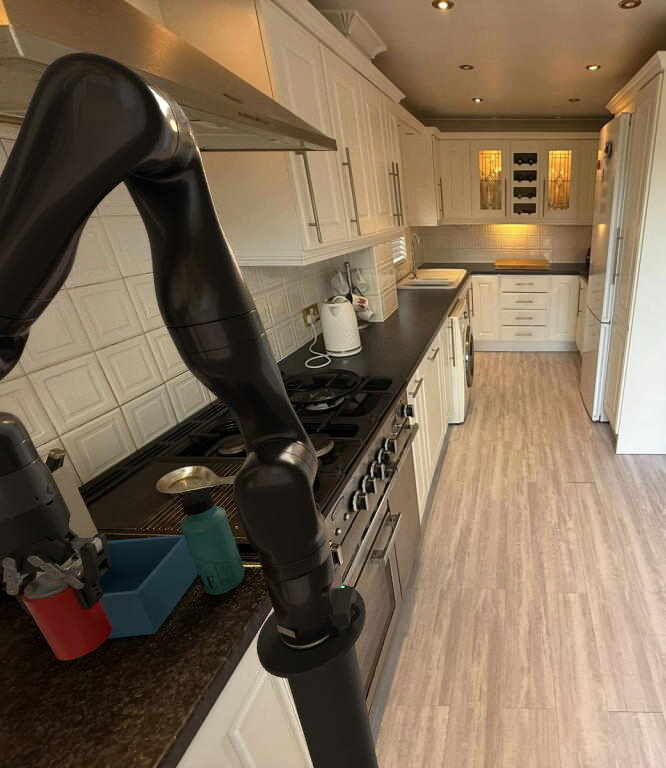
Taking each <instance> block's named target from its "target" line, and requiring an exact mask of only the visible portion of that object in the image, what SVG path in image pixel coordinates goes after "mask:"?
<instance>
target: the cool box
mask: <svg viewBox="0 0 666 768" xmlns="http://www.w3.org/2000/svg"><path fill="white" fill-rule="evenodd" d="M107 544H108V549H109V554H110V559H111V564H112V568H111V569H110V570H109V571H107V572H106V573H105V574H104V575H103V576H102V577H101V578H100V580H99V583H100V585H101V587H102V590H103V592H104V594H103V596H102V597H101V599H100V601H101V603H102V605H103V607H104V609H105V611H106V613H107V615H108V617H109V619H110V621H111V623H112V626H113V629H112V632H111V634H110V636H109V637H108V638H107V639H106V640H110V639H118V638H119V639H120V638H128V637H137V636H147V635H155V634H157V633H158V631H159V629H160V628H161V627H162V625H163V624H164V623H165V621H166V620H167V618H168V617H169V616H170V614H171V613H172V611H173V610H174V609H175V607H176V606H177V604H178V603H179V602H180V600H181V599H182V598H183V596H184V595H185V593H186V592H187V590H189V588H190V587H191V585H192V584H193V583H194V581H195V579H196V578H198V576H199V574H198V572H197V569H196V566H195V564H194V561H193V558H192V556H191V553H189V552H190V550H189V548H188V544H187V542H186V539H185V536H184V534H176V535H165V536H164V535H163V536H151V537H139V538H128V539H116V540H107ZM187 548H188V549H187ZM188 550H189V551H188ZM196 572H197V573H196Z"/></svg>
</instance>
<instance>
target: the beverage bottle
mask: <svg viewBox="0 0 666 768" xmlns="http://www.w3.org/2000/svg"><path fill="white" fill-rule="evenodd" d="M181 506H182V511H183V514H184V515H185V518H183V520H182V521H181V524H180V530H181V532H182V535H184V536H185V539H186V542H187V544H188V548H189V550H190V552H189V553H191V556H192V558H193V561H194V564H195V566H196V569H197V572H198V576H197V578H198V580H199V583H200V585H201V587H202V590H203V591H204V592H206V593H207V594H208V595H213V596H215V595H216V596H217V595H221V594H222V595H223V594H225V593H228V592H229V591H232V590H233V589H235V588H236V587H237V586H239V585H240V583H241V582H242V581H243V580H244V578H245V574H246V570H245V565H244V562H243V559H242V556H241V553H240V552H241V551H240V549H239V547H238V545H237V542H236V539H235V537H234V535H233V532H232V529H231V525H230V522H229V519H228V515H227V510H226V509H225V508H223V507H221V506H217V505H215V500H214V498H213V496H212V493H211V492H210V491H207V490H200V491H195V492H192V493H190V494H188V495H187V496H185V497H184V498H183V499H182V500H181ZM188 548H187V549H188ZM189 550H188V551H189ZM197 572H196V573H197Z"/></svg>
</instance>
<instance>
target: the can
mask: <svg viewBox="0 0 666 768" xmlns="http://www.w3.org/2000/svg"><path fill="white" fill-rule="evenodd" d="M65 567H66V566H62V568H63V569H64V568H65ZM74 572H75V573H76V574H77V575H78V576H79V577H80V576H81V575H82V574H83V572H82V571H81V570H79V569H78V568H77V569H75V571H74ZM73 589H74V588H73V587H72V586H71V585H70V584H68V583H67V582H66V581H65V580H63V579H61V580H56V579H54V578H53V577H52V576H50V575H49V574H48V573H47V572H46V573H44V574H42V575H41V576H39V577H37V578H36V579H34V580H33V581H32V582H31V583H29V584H28V585H27V587H26V588H25V590H24V594H23V597H22V598H23V601H24V603H25V604H26V606H27V608H28V609H29V611H30V613H31V614H30V615H31V616H32V618H33V620H34V621H35V623H36V625H37V626H38V628H39V630H40V632H41V633H42V635H43V637H44V638H45V640H46V642H47V644H48V646H49V647H50V649H51V651H52V652H53V654H54V656H55V657H56V659H57V660H60V661H71V660H75V659H79V658H81V657H83V656H86V655H88V654H90V653H92V651H94V650H96V649H97V648H98V647H100V646H101V645H103V644H104V643H105V642H106V641H107V640H108V639H107V638H108V637H109V636H110V634H111V632H112V629H113V626H112V623H111V621H110V619H109V617H108V615H107V613H106V611H105V609H104V607H103V605H102V603H101V601H100V600H99V601H98V602H97V603H96V604H95V605H94V607H93V608H91V609H83V608H82V606H81V604H80V603H79V601H78V599H77V597H76V595H75V593H74V591H73Z"/></svg>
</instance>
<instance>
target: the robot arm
mask: <svg viewBox="0 0 666 768" xmlns="http://www.w3.org/2000/svg"><path fill="white" fill-rule="evenodd" d="M197 139H198V138H197V136H196V134H195V130H194V127H193V126H192V123H191V121H190V119H189V118H188V116H187V114H186V113H185V111H184V109H183V108H182V107H181V106H180V104H179V103H177V101H176V100H175V99H174V98H173V97H172V96H171V95H170V94H169V93H167V92H166V91H165V90H163V89H162V88H161V87H159V86H158V85H156V84H155V83H153V82H152V81H150V80H149V79H147V78H146V77H145V76H143V75H142V74H139V73H138V72H136V71H135V70H133V69H132V68H130V67H128V66H127V65H125V64H123V63H121V62H119V61H117V60H116V59H112V58H110V57H108V56H104V55H101V54H99V53H91V52H84V51H83V52H70V53H68V54H65V55H62V56H59V57H58V58H56V59H54V61H53V62H51V63H50V64H49V65H48V66H47V67H46V69H45V70H44V71H43V73H42V75H41V76H40V78H39V80H38V82H37V85H36V87H35V89H34V91H33V94H32V96H31V99H30V101H29V104H28V107H27V109H26V112H25V115H24V118H23V120H22V123H21V126H20V128H19V132H18V133H17V137H16V139H15V141H14V144H13V146H12V149H11V151H10V152H9V155H8V157H7V160H6V163H5V165H4V167H3V169H2V171H1V174H0V382H1V381H3V380H4V379H5V378H6V377H7V376H9V374H10V373H11V372H12V371H13V370H14V368H15V367H16V366H17V365H18V363H19V362H20V360H21V358H22V356H23V354H24V351H25V349H26V346H27V343H28V341H29V337H30V334H31V330H32V326H33V325H34V324H35V323H36V322H37V321H38V320H39V318H41V316H42V315H43V313H45V311H46V310H47V309H48V307H49V306H50V304H51V303H52V302H53V301H54V299H55V298H56V297H57V295H58V294H59V292H60V291H61V290H62V288H63V287H64V286H65V284H66V282H67V280H68V278H69V277H70V275H71V273H72V271H73V269H74V265H75V262H76V259H77V255H78V251H79V246H80V242H81V240H82V236H83V234H84V230H85V227H86V225H87V224H88V222H89V220H90V218H91V217H92V215H93V213H94V212H95V211H96V209H97V208H98V206H99V205H100V203H102V201H103V200H104V199H105V198H106V197H107V196H108V195H109V194H110V193H111V192H112V191H114V190H115V189H116V188H117V187H119V186H120V184H122V183H123V184H124V187H125V188H126V190H127V191H128V194H129V196H130V198H131V200H132V202H133V204H134V206H135V208H136V209H137V212H138V213H139V216H140V218H141V220H142V223H143V225H144V229H145V232H146V234H147V238H148V242H149V248H150V256H151V268H152V277H153V278H152V279H153V287H154V295H155V299H156V304H157V308H158V311H159V314H160V317H161V320H162V321H163V324H164V326H165V328H166V330H167V332H168V335H169V336H170V338H171V341H172V343H173V344H174V347H175V349H176V352H177V353H178V355H179V358H180V359H181V360H182V362H183V364H184V365H185V367H186V368H187V369H188V371H189V372H190V373H191V375H193V377H195V379H196V380H197V381H199V383H200V384H201V385H202V386H204V387H205V388H206V389H207V390H208V391H209V392H210V393H212V394H213V395H214V397H216V398H217V399H218V400H219V401H220V402H221V403H222V404H223V405H224V406H225V408H227V409H228V411H229V412H230V415H232V417H233V419H234V422H235V423H236V427H237V429H238V431H239V433H240V435H241V439H242V442H243V445H244V448H245V452H246V457H245V459H244V461H243V463H242V465H241V466H240V468H239V470H238V472H237V473H236V475H235V477H234V479H233V482H232V499H233V503H234V507H235V510H236V513H237V516H238V518H239V522H240V525H241V527H242V530H243V532H244V535H245V538H246V540H247V542H248V544H249V545H250V546H251V547H252V549H253V550H255V551H256V553H257V556H258V560H259V563H260V564H259V565H260V567H261V570H262V574H263V578H264V581H265V585H266V589H267V592H268V596H269V599H270V602H271V606H272V609H273V611H274V613H275V616H276V620H277V623H278V625H277V627H278V631H279V632H280V636H281V640H282V642H283V644H284V645H285V646H286V647H287V648H288V649H290V650H294V651H306V650H310V649H314V648H316V647H318V646H320V645H322V644H324V643H325V642H327V641H328V640H329V639H332V638H337V637H338V635H339V632H340V628H341V626H343V625H349V624H352V623H353V622H354V621H355V620H356V619H357V618H358V617H359V616H360V613H361V610H360V608H359V606H357V605H356V604H355V601H356V592H355V590H356V587H355V586H353V585H352V586H350V587H344V586H343V584H344V583H343V579H342V578H343V577H342V574H341V569H340V568H341V567H340V565H339V563H338V562H334V560H333V559H334V558H333V554H332V548H331V544H330V539H329V535H328V528H327V523H326V519H325V517H324V515H323V514H322V512H320V511H318V509H317V506H316V501H315V496H314V490H313V489H314V488H313V486H314V483H315V479H316V476H317V471H318V467H319V465H318V464H319V463H318V455H317V452H316V449H315V447H314V444H313V442H312V441H311V439H310V437H309V435H308V433H307V432H306V430H305V428H304V426H303V424H302V422H301V421H300V419H299V417H298V415H297V413H296V411H295V409H294V407H293V405H292V403H291V400H290V398H289V396H288V393H287V390H286V387H285V383H284V381H283V377H282V374H281V371H280V369H279V368H280V367H279V365H278V362H277V360H276V357H275V355H274V352H273V349H272V346H271V344H270V340H269V336H268V333H267V331H266V328H265V326H264V323H263V320H262V317H261V315H260V312H259V310H258V307H257V305H256V302H255V300H254V298H253V295H252V294H251V291H250V289H249V286H248V284H247V281H246V279H245V277H244V274H243V271H242V270H241V267H240V264H239V261H238V259H237V257H236V255H235V253H234V251H233V248H232V246H231V244H230V242H229V239H228V237H227V235H226V233H225V231H224V229H223V225H222V224H221V221H220V218H219V215H218V211H217V209H216V205H215V202H214V199H213V195H212V191H211V187H210V185H209V181H208V177H207V172H206V169H205V166H204V162H203V161H204V160H203V158H202V154H201V150H200V146H199V144H198V140H197ZM52 473H53V472H52V471H51V470H50V468H49V466H48V465H47V463H46V462H45V461H44V460H43V459H42V457H41V456H40V453H39V451H38V450H37V447H36V445H35V443H34V441H33V439H32V437H31V435H30V432H29V431H28V428H27V427H26V425H25V424H24V422H23V421H22V419H20V417H19V416H17V415H16V414H14V413H12V412H9V411H5V410H4V411H3V410H2V411H1V410H0V591H5V592H6V593H7V594H8V595H10V596H14V597H15V599H16V601H17V602H18V604H19V605H20V607H21V608H22V609H23V610H24V611H25V612H26V614H27V615H28V616H29V615H31V613H30V611H29V609H28V608H27V606H26V604H25V603H24V601H23V598H22V597H23V594H24V590H25V588H26V587H27V585H28V584H29V583H31V582H32V581H33V580H34V579H36V576H37V572H47V573H48V574H49V575H50V576H52V577H53V578H54V579H56V580H61V579H63V580H65V581H66V582H67V583H68V584H70V585H71V586H72V587H73V588H74V589H73V591H74V593H75V595H76V597H77V599H78V601H79V603H80V604H81V606H82V608H83V609H91V608H93V607H94V605H95V604H96V603H97V602H98V601H99V600H100V599H101V597H102V596H103V594H104V592H103V590H102V587H101V585H100V583H99V580H100V578H101V577H102V576H103V575H104V574H105V573H106V572H107V571H109V570H110V569H111V568H112V564H111V559H110V554H109V549H108V544H107V541H108V538H107V536H106V535H105V534H104V533H101V532H98V534H96V535H95V536H94V537H92V538H80V537H78V535H77V534H76V533H74V532H73V531H72V530H71V529H70V528H69V521H70V516H71V514H70V511H69V509H68V507H67V505H66V503H65V501H64V499H63V497H62V494H61V492H60V490H59V488H58V486H57V484H56V482H55V480H54V478H53V475H52ZM70 557H71V559H72V561H71V562H70V563H69V564H68V565H67V566H66V567H65V568H64V569H63V568H62V567H61V566H62V565H63V564H64V563H65V562H66V561H68V560H69V559H70ZM77 568H78V569H79V570H81V571H82V572H83V574H82V575H81V576H80V577H79V576H78V575H77V574H76V573H75V572H74V571H75V569H77ZM353 610H354V611H355V614H354V615H353V616H352V613H353Z"/></svg>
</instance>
